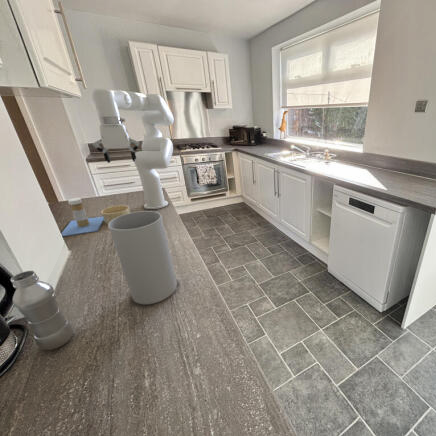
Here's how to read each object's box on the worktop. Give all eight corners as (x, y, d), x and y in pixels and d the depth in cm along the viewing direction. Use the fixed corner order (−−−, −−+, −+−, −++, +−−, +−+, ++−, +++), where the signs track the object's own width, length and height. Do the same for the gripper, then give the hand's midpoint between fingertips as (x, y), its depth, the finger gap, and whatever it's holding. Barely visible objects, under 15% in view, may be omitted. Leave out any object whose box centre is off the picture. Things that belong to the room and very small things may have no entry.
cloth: (71, 221, 121) (71, 220, 120) (105, 216, 126) (105, 216, 126) (59, 237, 106) (58, 236, 106) (97, 231, 112) (97, 230, 112)
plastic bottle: (35, 358, 55) (-9, 289, 47) (48, 335, 60) (11, 270, 52) (70, 348, 57) (34, 281, 49) (80, 327, 63) (49, 263, 55)
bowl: (107, 218, 125) (103, 207, 123) (133, 214, 130) (130, 204, 127) (102, 226, 116) (98, 215, 113) (130, 222, 120) (127, 211, 118)
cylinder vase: (149, 311, 68) (125, 234, 58) (123, 296, 73) (97, 223, 63) (185, 286, 78) (171, 216, 68) (161, 274, 83) (143, 208, 73)
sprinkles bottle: (81, 223, 118) (71, 197, 112) (92, 223, 118) (82, 197, 113) (75, 227, 114) (65, 201, 108) (86, 227, 114) (76, 200, 109)
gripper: (135, 121, 109) (144, 158, 116) (88, 121, 102) (100, 161, 109) (133, 121, 103) (143, 161, 110) (83, 121, 96) (97, 164, 103)
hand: (121, 161), depth 110 cm, fingers open, 9 cm apart
